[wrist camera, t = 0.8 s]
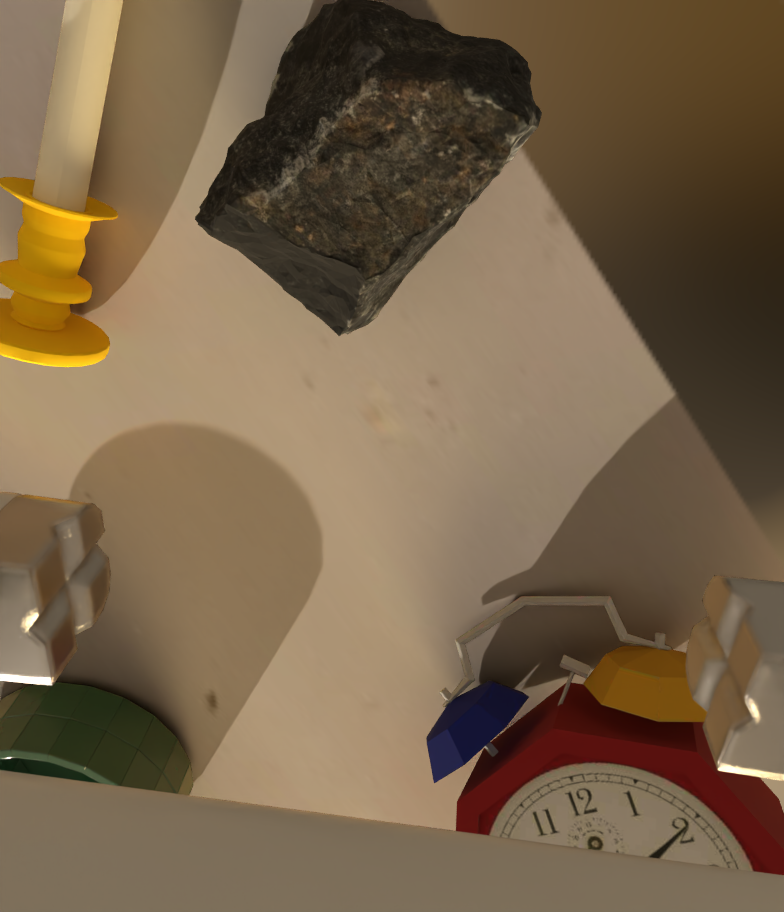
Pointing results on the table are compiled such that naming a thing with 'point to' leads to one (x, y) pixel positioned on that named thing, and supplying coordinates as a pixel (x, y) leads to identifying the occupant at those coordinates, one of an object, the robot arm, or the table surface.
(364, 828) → the robot arm
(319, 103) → the rock
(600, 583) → the table surface
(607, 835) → the alarm clock
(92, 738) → the bowl
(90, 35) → the candle
